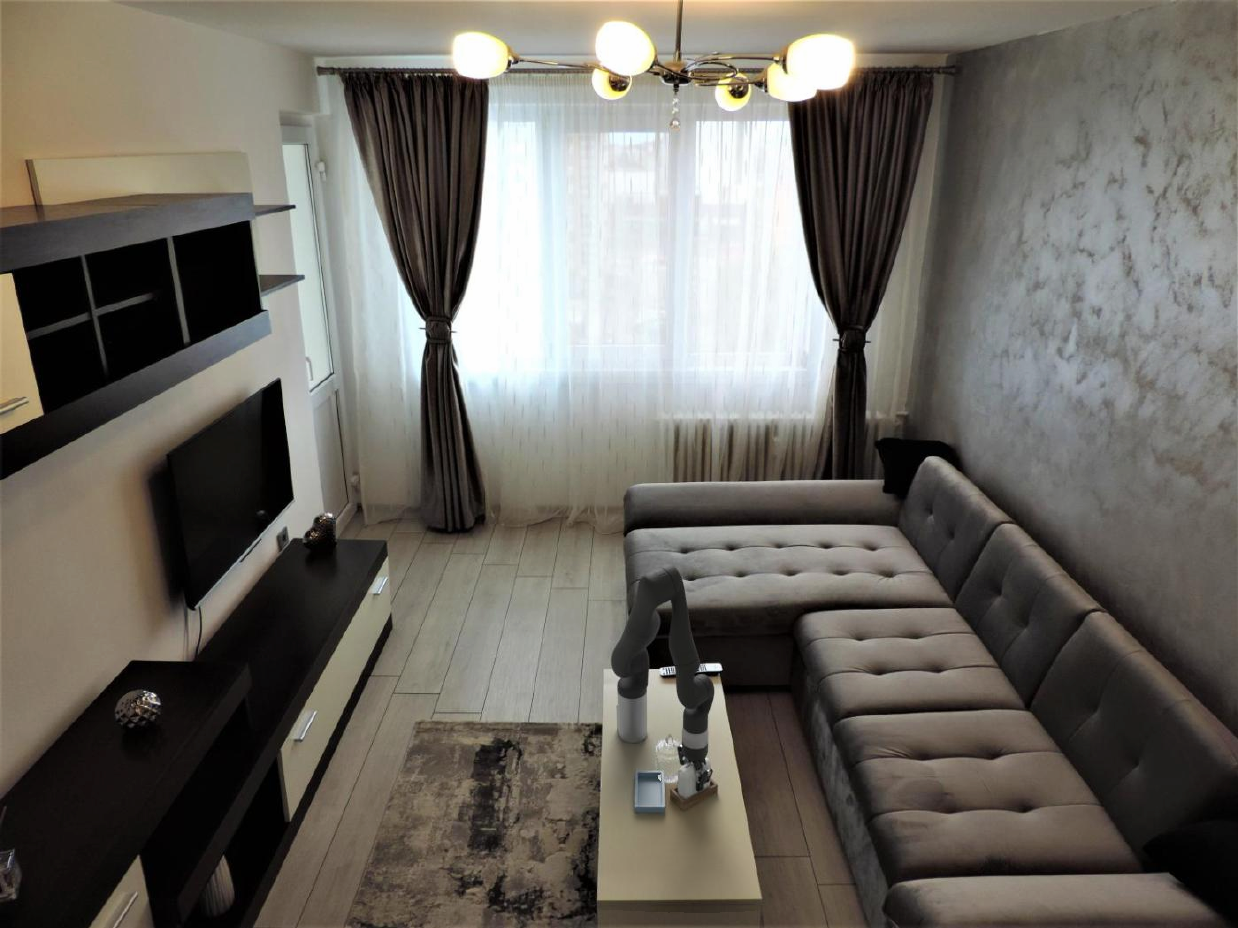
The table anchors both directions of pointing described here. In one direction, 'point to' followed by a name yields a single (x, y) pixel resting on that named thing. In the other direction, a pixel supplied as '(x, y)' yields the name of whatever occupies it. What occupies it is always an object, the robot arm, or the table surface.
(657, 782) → the slate tray
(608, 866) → the table surface
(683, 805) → the brown wooden tray
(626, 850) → the table surface
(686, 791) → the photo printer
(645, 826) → the table surface
